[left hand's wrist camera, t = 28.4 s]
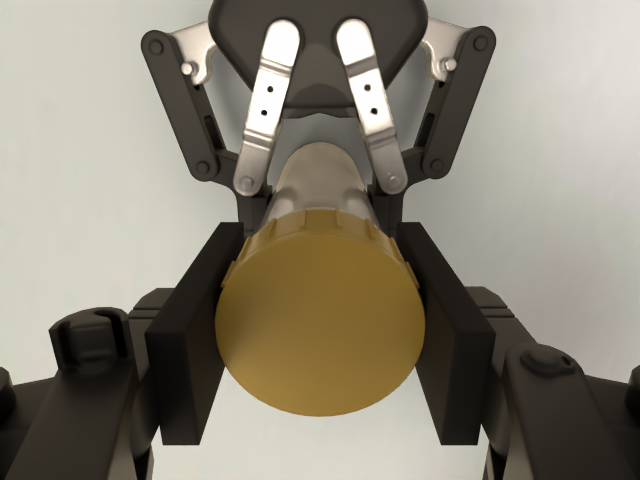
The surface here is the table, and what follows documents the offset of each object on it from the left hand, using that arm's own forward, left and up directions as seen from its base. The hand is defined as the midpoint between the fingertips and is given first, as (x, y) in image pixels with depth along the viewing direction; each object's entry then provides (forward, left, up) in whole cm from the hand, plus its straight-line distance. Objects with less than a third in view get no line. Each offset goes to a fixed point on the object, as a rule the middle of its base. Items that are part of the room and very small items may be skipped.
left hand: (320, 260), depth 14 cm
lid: (0, 0, +4) cm, 4 cm away
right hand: (-2, +1, -6) cm, 6 cm away
